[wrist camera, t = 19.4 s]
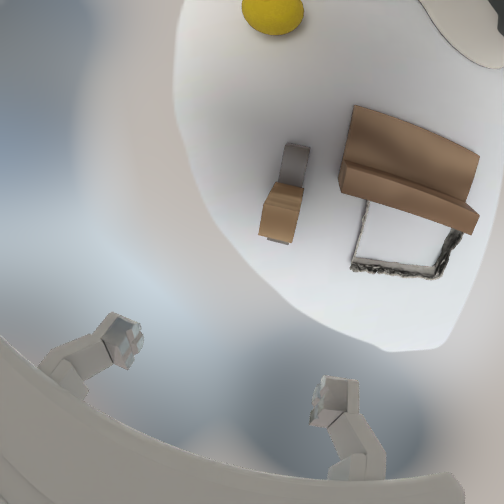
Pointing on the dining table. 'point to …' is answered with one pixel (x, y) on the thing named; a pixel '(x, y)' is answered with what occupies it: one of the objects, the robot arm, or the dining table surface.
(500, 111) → the dining table surface
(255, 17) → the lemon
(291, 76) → the dining table surface
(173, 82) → the dining table surface
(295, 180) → the oak pusher
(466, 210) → the stop bar
